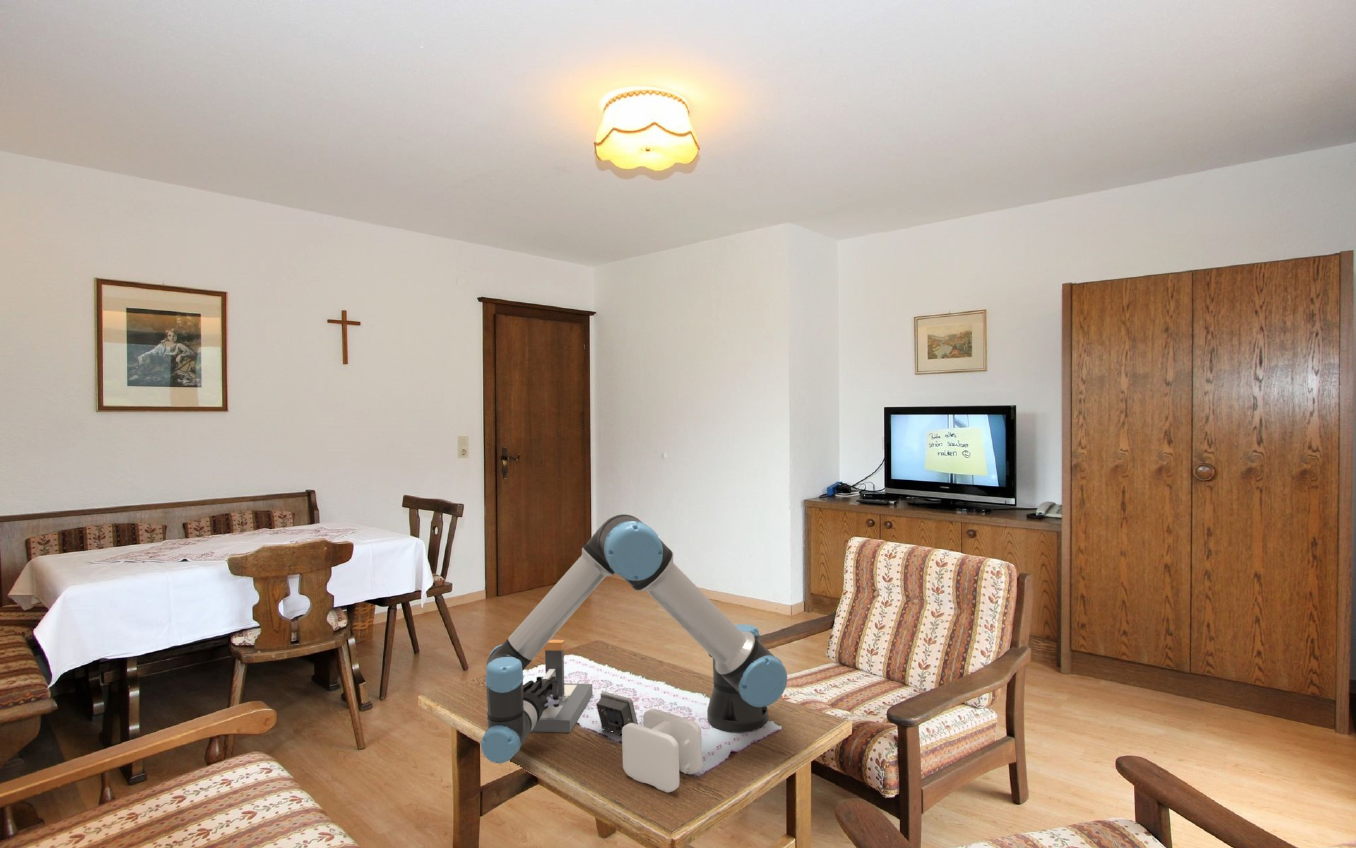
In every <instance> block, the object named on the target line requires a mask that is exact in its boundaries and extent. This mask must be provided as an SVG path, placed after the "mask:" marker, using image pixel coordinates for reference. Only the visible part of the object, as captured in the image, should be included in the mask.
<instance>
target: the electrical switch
mask: <svg viewBox="0 0 1356 848" xmlns="http://www.w3.org/2000/svg"><path fill="white" fill-rule="evenodd" d="M595 704H596V705H595V706H596V709H597V713H598V717H599V720H600V721H599V722H600V725H601V729H602V730H603V729H604V730H603V731H604V732H605V731H606V732H608V731H613V732H614V733H613V734H615V733H616V735H619V734H622V728H623V727H624V726H625V725H627V724H629V723H634V724H637V725H639V722H638V719H637V714H636V709H635V705H634V701H633V699H632V698H630V697H626V696H623V695H622V696H621V695H618V694H616V693H615V694H614V693H611V692H608V691H607V692H606V691H602V692H600V699H599V700H598V701H597V702H596V703H595ZM619 727H620V728H619Z"/></svg>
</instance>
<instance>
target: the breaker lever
mask: <svg viewBox="0 0 1356 848" xmlns="http://www.w3.org/2000/svg"><path fill="white" fill-rule="evenodd" d="M565 647H566V646H565V639H550V640H549V641H548V643H547V644H546V645H545V646H544V647H543V651H544V655H545V656H544V662H545V663H544V664H545V674H546V673H547V672H548V670H549V669H555V671H556V681H558V695H559V697H563V696H564V694H565V692H564V683H565V654H564V653H565V651H564V650H565ZM550 695H552V693H550V694H549V695H548V696H547V697H550Z"/></svg>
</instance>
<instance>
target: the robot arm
mask: <svg viewBox="0 0 1356 848" xmlns="http://www.w3.org/2000/svg"><path fill="white" fill-rule="evenodd" d="M614 574H616V575H618V576H620V577H621V578H623V579H622V580H624V581H625V582H626V583H627V584H629V586H631V588H632V589H634V591H636V592H647V594H648V595H649V596H650V597H651V598H652V599H653V600H654V601H656V602H657V604H659V606H660V607H662V609H664V611H665V612H666V613H668V615H669V616H670V617H672V619H673V620H674V621H675V622H676V623H677V624H678V625H679V626H680V627H682V629H684V631H685V632H687V634H688V635H690V637H691V638H692V639H694V641H696V643H697V644H698V645H700V646H701V647H702V649H704V651H705V652H707V653H708V654H709V656H711V658H712V677H713V679H712V680H713V689H712V691H711V696H710V699H709V703H708V706H707V711H706V713H707V714H706V715H707V716H706V717H707V721H708V723H709V724H710V725H711V726H713V727H714V728H716V729H719V730H721V731H726V732H731V733H746V732H752V731H755V730H759V729H760V728H763V727H764V726H765V725H767V723H768V721H769V710H768V709H769V708H768V707H769V706H771V705H773V704H774V703H776V702H777V701H778V700H779V699H780V698H781V697H782V696H783V694H784V692H785V691H786V688H787V685H788V683H787V682H788V672H787V669H786V667H785V665H784V664H783V662H782V661H781V659H780V658H778V657H776V656H775V655H774V654H773V653H772V652H771V651H770V650H769V649H768V648H767V647H766V646H765V645H764V644H763V643H762V642H761V641H760V633H759V628H758V627H757V626H755V625H752V624H737V623H735V624H734V623H733V622H732V621H731V620H730V619H729V618H728V617H727V616H726V615H725V614H724V613H723V611H721V610H720V609H719V608H718V607H717V606H716V605H715V604H714V603H713V601H711V600H710V599H709V597H708V596H707V595H706V594H704V592H702V590H701V589H700V588H699V587H698V586H697V585H696V584H695V583H694V582H693V581H692V580H691V579H690V578H689V577H688V576H687V575H686V574H685V573H684V572H683V571H682V570H681V569H680V568H679V567H678V566H677V565H676V563H674V552H673V551H672V550H671V549H670V548H669V547H668V546H667V544H665V542H664V541H662V539H661V538H659V535H658V534H657V533H656V530H655V531H654V529H653V528H652V527H650V526H649V525H647V524H646V523H644V522H643V521H641V520H640V519H639V518H638V517H635V516H633V515H631V514H622V513H621V514H617V515H614V516H612V517H610V518H608V519H607V520H606V521H605V522H603V524H601V526H599V528H598V529H597V530H596V531H595V533H594V534H593V535H592V536H591V537H590V539H589V540H588V541H587V542H586V543H585V544H584V546H582V548H581V556H579V557H578V559H577V560H576V561H575V562H574V563H573V564H572V565H571V567H570V568H569V569H568V570H567V571H566V572H565V573H564V575H563V576H562V577H561V578H560V579H559V580H558V581H557V582H556V584H555V585H554V586H553V587H552V588H551V589H550V590H549V591H548V592H547V593H546V595H545V596H544V597H543V598H542V600H540V602H539V603H538V604H537V605H536V606H535V607H534V608H533V610H531V612H530V613H529V614H528V615H527V616H526V618H525V619H524V620H523V621H522V622H521V623H520V624H519V625H518V626H517V628H515V630H514V631H513V632H512V633H511V634H510V635H509V636H508V638H507V639H506V640H505V641H504V642H503V643H502V644H499V645H497V646H495V647H494V648H493V649H492V650H491V652H490V653H489V655H488V658H487V661H486V668H485V681H484V682H485V687H486V690H485V691H486V692H485V693H486V707H487V711H486V712H487V713H486V716H487V717H486V721H487V729H486V731H485V732H484V733H483V736H482V738H481V740H480V749H481V752H482V755H483V756H484V757H485V758H486V759H487V760H488V761H490V762H491V763H493V764H503V763H507V762H508V761H510V760H511V759H513V757H514V756H515V755H516V754H517V753H518V752H519V751H520V749H521V747H522V745H523V744H524V742H525V741H526V740H527V738H528V736H529V735H530V733H531V732H533V731H532V729H533V728H534V727H535V725H536V723H537V722H538V720H539V719H540V717H541V716H542V713H543V711H544V710H545V709H547V708H548V706H549V705H551V706H554V707H559V695H558V681H556V671H555V669H549V670H548V672H547V673H546V672H545V673H544V675H543V676H536V680H535V681H534V680H529V681H527V682H526V683H524V670H525V669H526V668H527V667H528V665H530V664H531V662H532V661H533V660H534V659H535V657H536V656H537V655H538V654H540V652H541V651H542V650H543V649H544V646H545V645H546V644H547V643H548V641H549V640H552V638H553V637H554V636H555V635H556V634H557V633H558V631H559V630H560V629H561V628H562V627H563V625H564V624H565V623H567V621H568V620H569V619H570V618H571V617H572V616H573V615H574V614H575V612H576V611H577V610H578V609H579V608H580V606H581V605H582V604H583V603H584V602H585V600H586V599H588V597H589V596H590V595H591V594H592V593H593V592H594V591H595V589H596V588H597V587H598V586H599V585H600V584H601V582H602V581H604V579H605V578H606V577H611V576H614ZM550 693H552V695H550V698H549V700H547V696H548V695H549V694H550Z"/></svg>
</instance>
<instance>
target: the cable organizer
mask: <svg viewBox="0 0 1356 848" xmlns="http://www.w3.org/2000/svg"><path fill="white" fill-rule="evenodd" d="M642 721H643V722H642V724H643V725H640V724H638V725H637V724H634V723H629V724H627V725H625V726H624V727H623V728H622V730H621V731H622V735H621V746H622V768H623V771H624V773H626V775H627V776H628V777H630V778H632V779H633V780H634V781H637V782H639V783H642V784H648V785H650V786H653V787H655V788H656V789H657V790H660V791H662V792H664V793H669V794H670V793H671V792H675V790H676V789H677V790H678V788H679V787H680V772H682V773H684V775H686V774H687V775H695V774H697V773H698V772H699V771H700V770H702V768H703V744H702V743H703V741H702V739H703V737H702V728H701V726H700V725H699V724H698V722H696V721H694V720H692V719H690V718H687V717H682V716H680V715H676V714H673V713H671V712H666V711H663V710H661V709H658V708H650V709H648V710H646V711H645V712H644V713H643V715H642Z"/></svg>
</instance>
